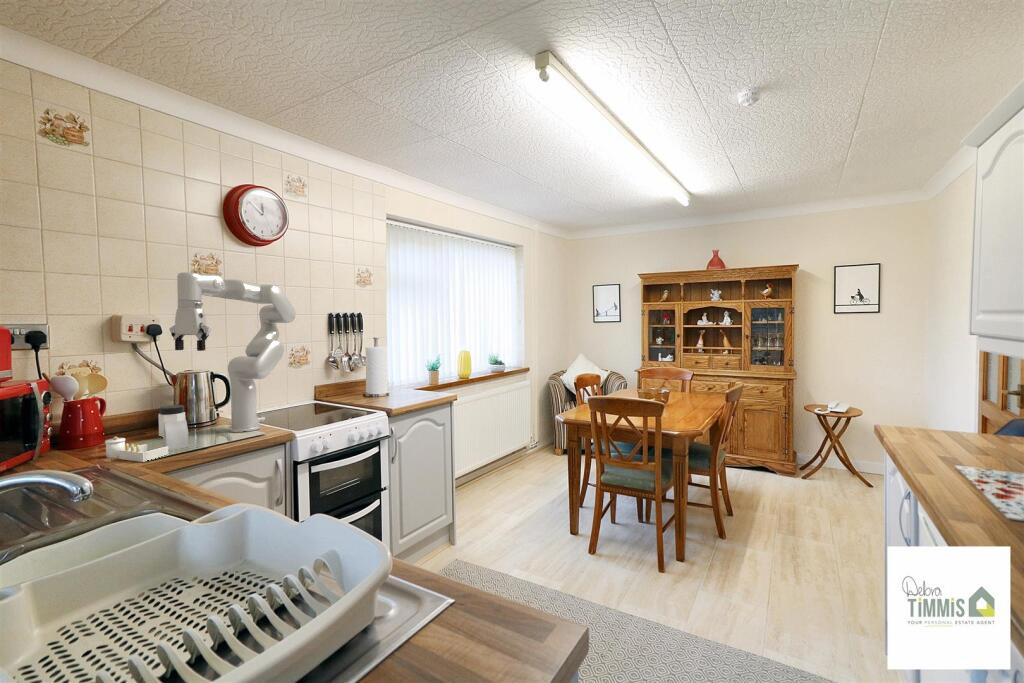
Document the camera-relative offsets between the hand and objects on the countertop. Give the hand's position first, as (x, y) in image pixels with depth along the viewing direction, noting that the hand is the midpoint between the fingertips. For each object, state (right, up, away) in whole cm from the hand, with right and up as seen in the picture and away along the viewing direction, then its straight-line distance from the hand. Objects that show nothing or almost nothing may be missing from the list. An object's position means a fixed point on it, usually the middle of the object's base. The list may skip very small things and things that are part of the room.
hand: (190, 350), depth 179 cm
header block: (-4, -36, -17) cm, 40 cm away
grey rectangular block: (-1, -36, -7) cm, 37 cm away
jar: (-16, -35, +13) cm, 41 cm away
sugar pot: (-15, -36, -16) cm, 42 cm away
